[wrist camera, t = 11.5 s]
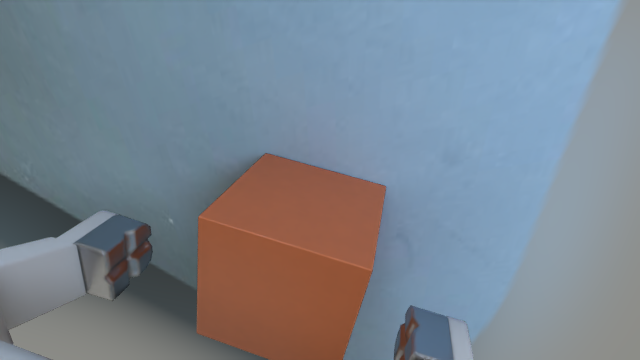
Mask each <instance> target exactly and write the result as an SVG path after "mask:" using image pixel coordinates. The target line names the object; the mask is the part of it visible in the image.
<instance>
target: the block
mask: <svg viewBox="0 0 640 360" xmlns="http://www.w3.org/2000/svg"><path fill="white" fill-rule="evenodd" d="M385 191H386V186H384V185H380V184H376V183H373V182H369V181H366V180H362V179H358V178H355V177H351V176H347V175H344V174H340V173H336V172H333V171H329V170H326V169H322V168H318V167H315V166H311V165H307V164H304V163H300V162H297V161H293V160H289V159H286V158H282V157H278V156H275V155H271V154H267V153H265V154H264V155H263V156H262V157H261V158H260V159H259V160H258V161H257V162H256V163H255V164H254V165H253V166H251V167H250V168H249V169H248V170H247V171H246V172H245V173H244V174H243V175H242V176H241V177H240V178H239V179H238V180H237V181H236V182H234V183H233V184H232V185H231V186H230V187H229V188H228V189H227V190H226V191H225V192H224V193H223V194H222V195H221V196H220V197H219V198H217V199H216V200H215V201H214V202H213V203H212V204H211V205H210V206H209V207H208V208H207V209H206V210H205V211H204V212H203V213H201V214H200V215H199V217H198V279H197V333H198V334H200V335H203V336H206V337H208V338H211V339H214V340H217V341H219V342H222V343H225V344H228V345H231V346H233V347H236V348H239V349H242V350H245V351H247V352H250V353H253V354H255V355H258V356H261V357H264V358H267V359H269V360H343V357H344V354H345V351H346V348H347V345H348V342H349V339H350V336H351V333H352V330H353V327H354V324H355V322H356V319H357V316H358V313H359V310H360V307H361V304H362V301H363V298H364V295H365V292H366V289H367V286H368V283H369V280H370V277H371V274H372V271H373V265H374V259H375V253H376V247H377V240H378V234H379V228H380V222H381V216H382V210H383V203H384V197H385Z"/></svg>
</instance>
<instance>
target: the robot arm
mask: <svg viewBox="0 0 640 360" xmlns="http://www.w3.org/2000/svg"><path fill="white" fill-rule="evenodd" d="M150 236H151V226H149V225H148V224H146V223H143V222H140V221H137V220H134V219H131V218H128V217H125V216H122V215H118V214H115V213H112V212H109V211H106V210H103V211H99V212H97V213H95V214H94V215H92V216H91V217H89V218H88V219H86V220H84V221H83V222H81V223H80V224H78V225H76V226H75V227H73V228H72V229H70V230H69V231H67V232H65V233H64V234H62V235H61V236H59V237H57V238H53V237H49V238H45V239H41V240H37V241H32V242H28V243H24V244H20V245H16V246H11V247H7V248H3V249H0V360H51V359H49V358H46V357H44V356H41V355H38V354H35V353H33V352H30V351H27V350H25V349H22V348H20V347H17V346H14V345H13V341H12V338H11V336H10V333H9V329H12V328H14V327H16V326H18V325H21V324H23V323H25V322H27V321H30V320H32V319H34V318H36V317H38V316H40V315H43V314H45V313H47V312H49V311H51V310H54V309H56V308H58V307H60V306H62V305H64V304H67V303H69V302H71V301H73V300H75V299H77V298H80V297H82V296H84V295H86V293H88V294H91V295H94V296H98V297H101V298H104V299H107V300H110V301H113V300H114V299H115V298H116V297H117V296H119V295H120V294H121V293H122V292H123V291H124V290H125V289H126V288H127V287H128V286H129V282H130V278H133V277H136V276H138V275H140V274H141V273H142V272H143V271H144V270H145V269H146V268H147V266H148V264H149V262H150V261H151V258H152V253H153V250H152V245H151V244H150V242H149V241H148V238H149V237H150ZM394 360H474V358H473V352H472V347H471V342H470V337H469V332H468V327H467V324H466V322H465V321H462V320H459V319H455V318H452V317H448V316H445V315H441V314H438V313H435V312H431V311H428V310H425V309H421V308H418V307H415V306H411V305H410V307H409V308H408V310H407V312H406V314H405V323H404V324H402V325H401V326H400V329H399V331H398V334H397V338H396V342H395V348H394Z"/></svg>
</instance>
